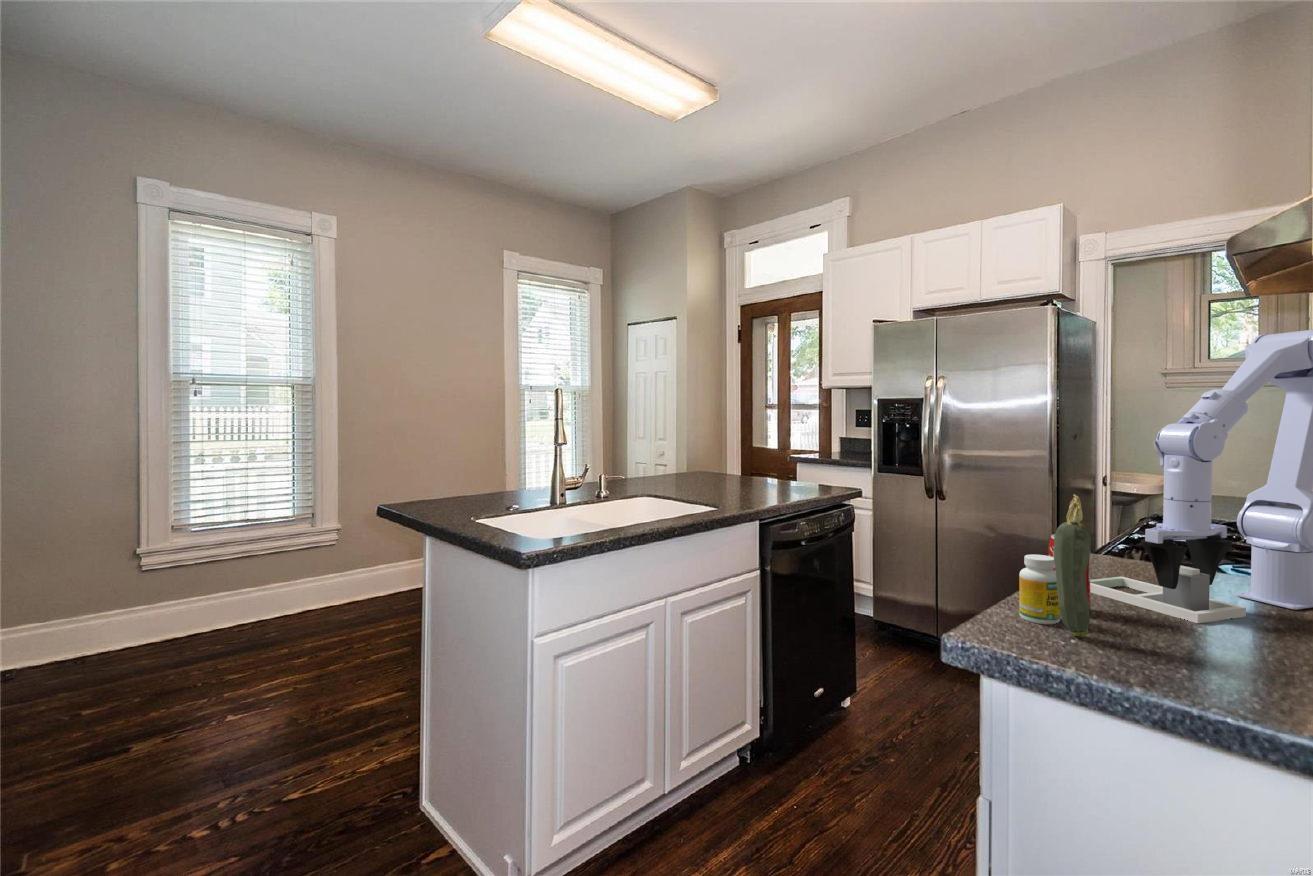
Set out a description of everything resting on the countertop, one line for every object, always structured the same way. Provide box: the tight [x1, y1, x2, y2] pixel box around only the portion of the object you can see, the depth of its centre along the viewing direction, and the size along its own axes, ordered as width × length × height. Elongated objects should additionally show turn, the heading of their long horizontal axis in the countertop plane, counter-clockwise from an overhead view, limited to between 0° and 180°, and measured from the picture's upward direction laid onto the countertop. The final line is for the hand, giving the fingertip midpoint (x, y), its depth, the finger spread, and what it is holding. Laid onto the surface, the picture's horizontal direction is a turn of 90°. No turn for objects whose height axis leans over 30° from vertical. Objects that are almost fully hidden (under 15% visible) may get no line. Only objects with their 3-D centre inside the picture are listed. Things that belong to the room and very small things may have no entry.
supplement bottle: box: [1018, 553, 1061, 625], centre depth 93 cm, size 5×5×10 cm
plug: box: [1162, 565, 1210, 611], centre depth 96 cm, size 4×4×7 cm
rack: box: [1090, 576, 1247, 624], centre depth 101 cm, size 10×19×1 cm, turn 15°
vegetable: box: [1054, 494, 1092, 638], centre depth 86 cm, size 4×4×20 cm
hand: (1185, 585), depth 96 cm, fingers open, 7 cm apart
